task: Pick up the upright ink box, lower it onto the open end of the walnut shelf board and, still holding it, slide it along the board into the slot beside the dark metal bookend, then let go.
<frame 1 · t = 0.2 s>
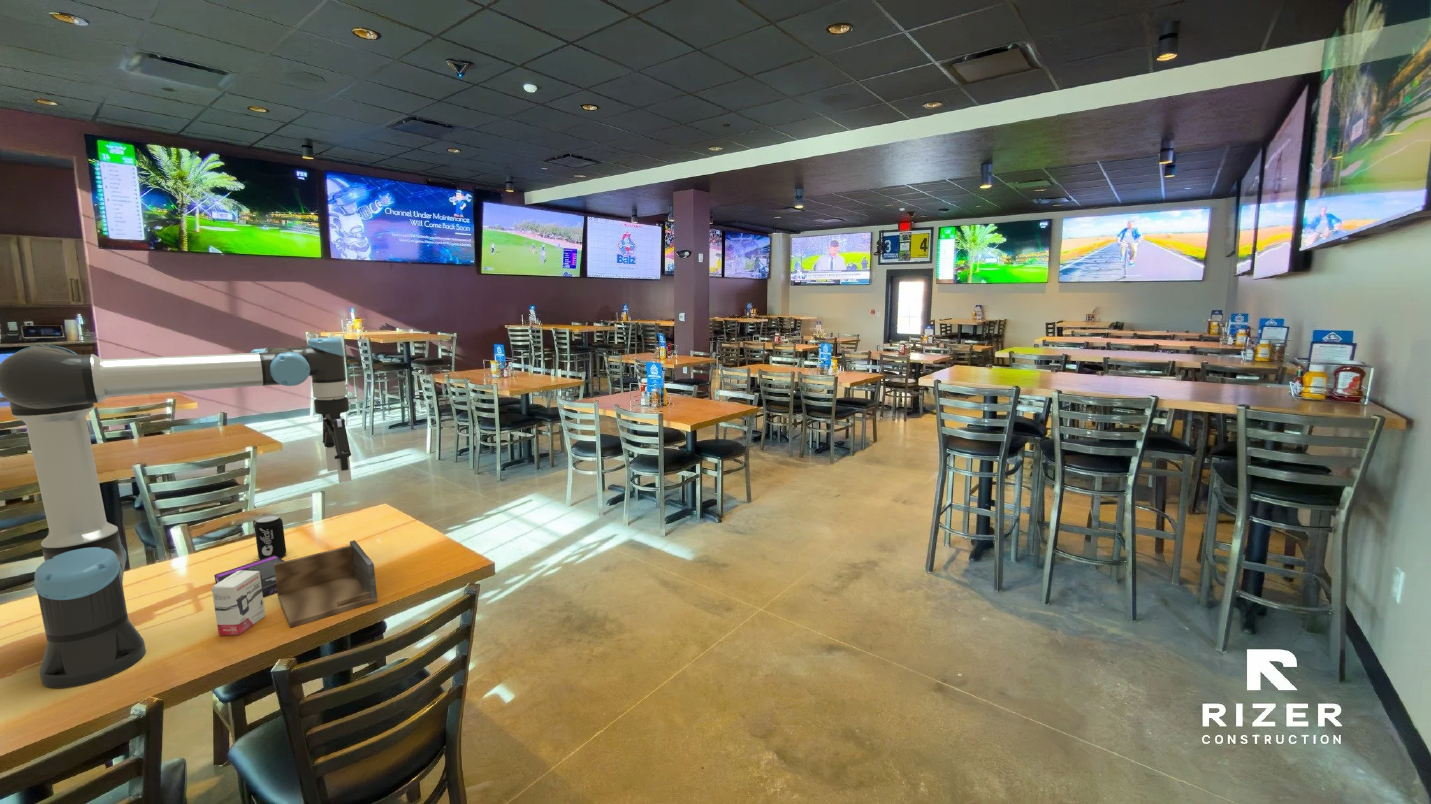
hand: (339, 476, 162), 28 cm above the table, fingers open, 13 cm apart
beverage can: (272, 558, 176), on the table
box: (262, 585, 161), on the table
shelf: (327, 599, 153), on the table
ink box: (242, 626, 141), on the table
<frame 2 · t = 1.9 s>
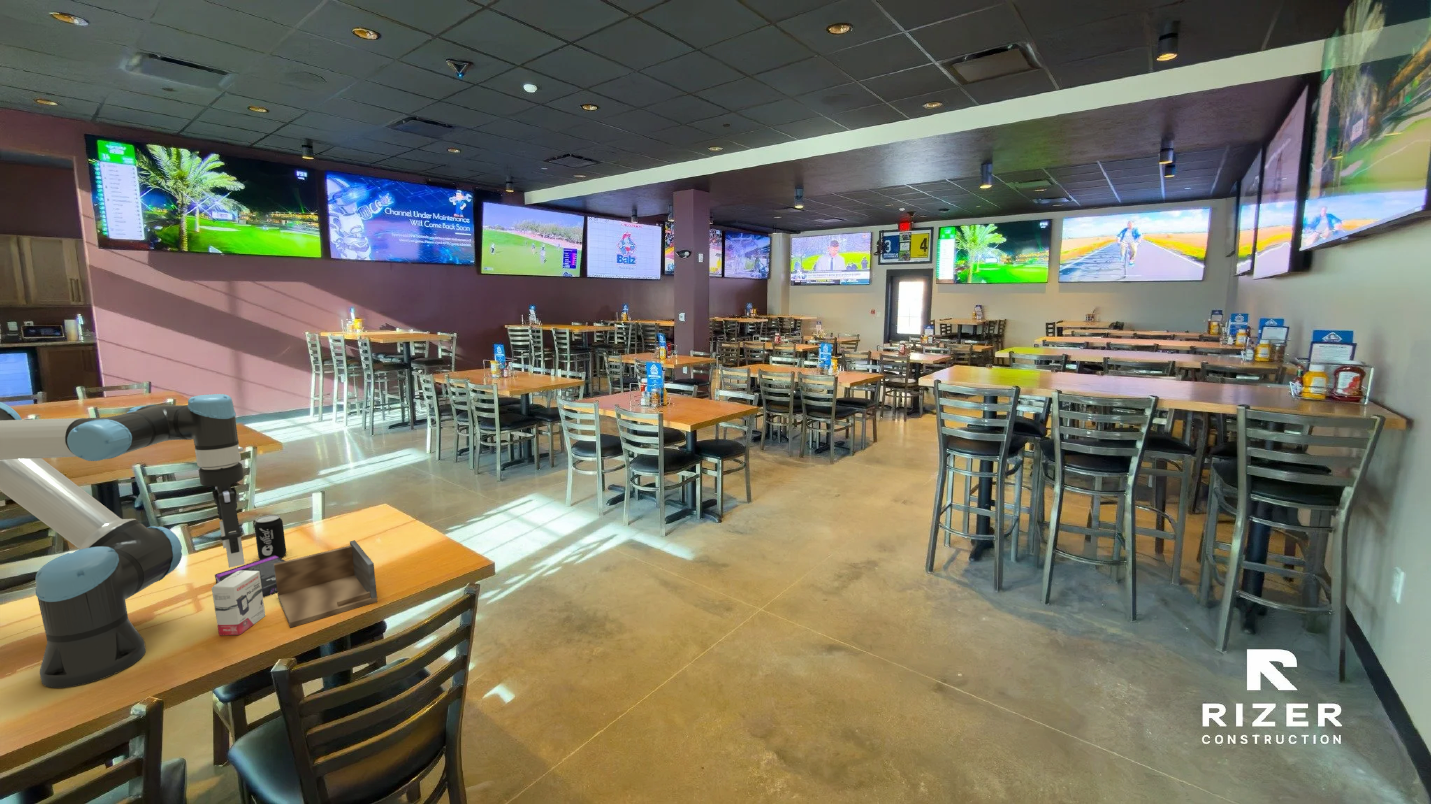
hand: (233, 555, 138), 17 cm above the table, fingers open, 13 cm apart
nothing on the table moved.
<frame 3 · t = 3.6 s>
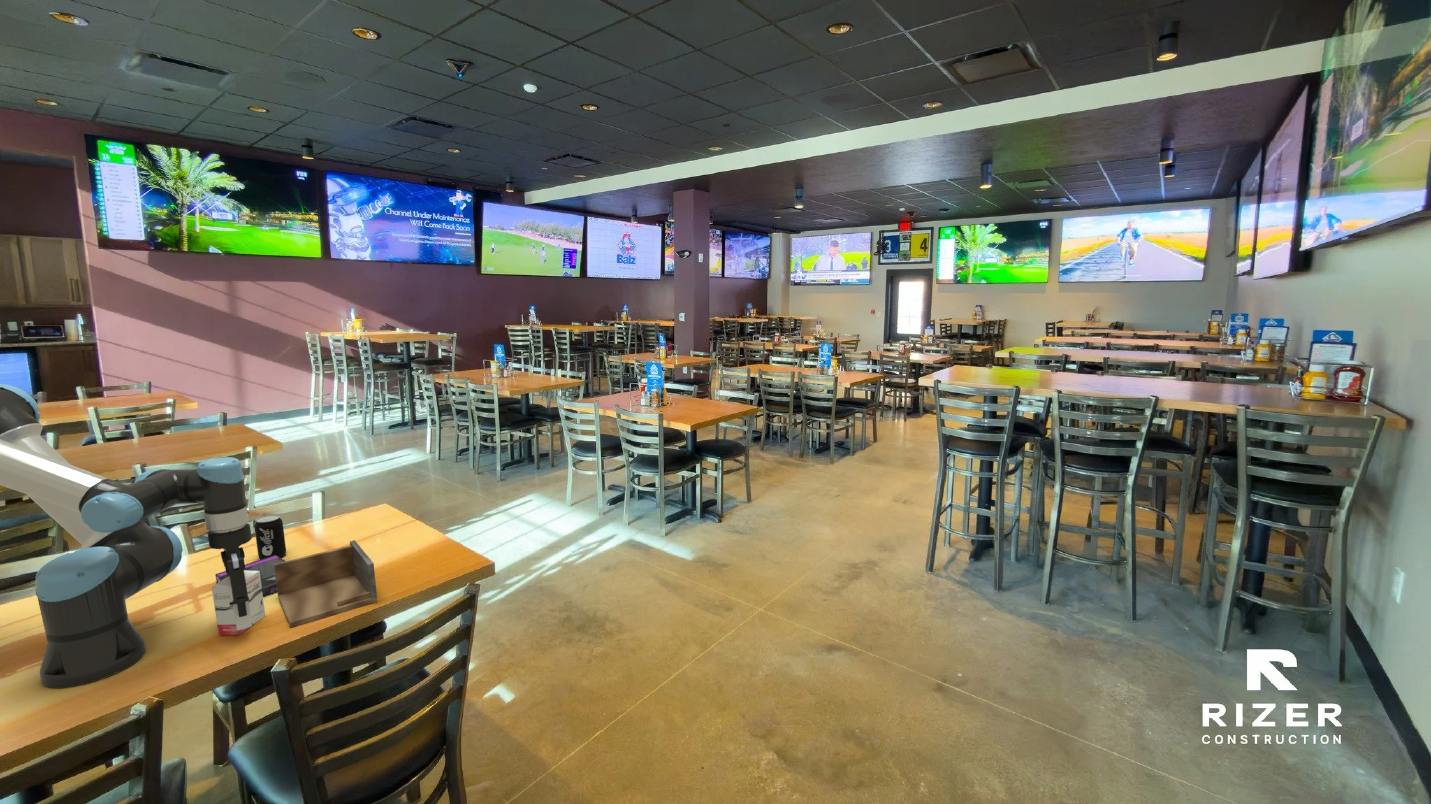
hand: (241, 619, 140), 2 cm above the table, fingers closed on ink box, 9 cm apart
ink box: (242, 626, 141), on the table, touching gripper
everything else where it was.
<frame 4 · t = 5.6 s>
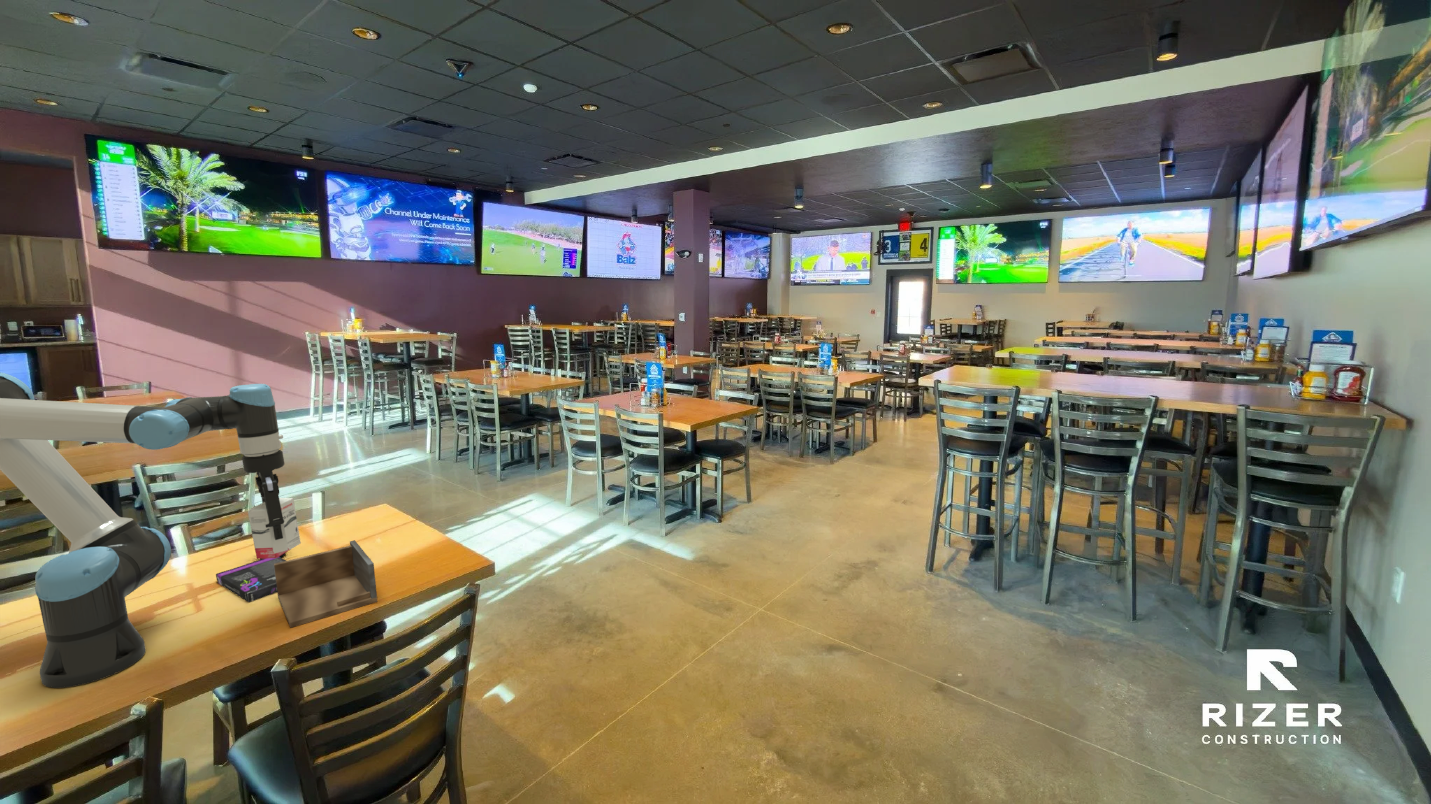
hand: (278, 545, 142), 18 cm above the table, fingers closed on ink box, 9 cm apart
ink box: (279, 551, 143), point 16 cm above the table, touching gripper
everything else where it was.
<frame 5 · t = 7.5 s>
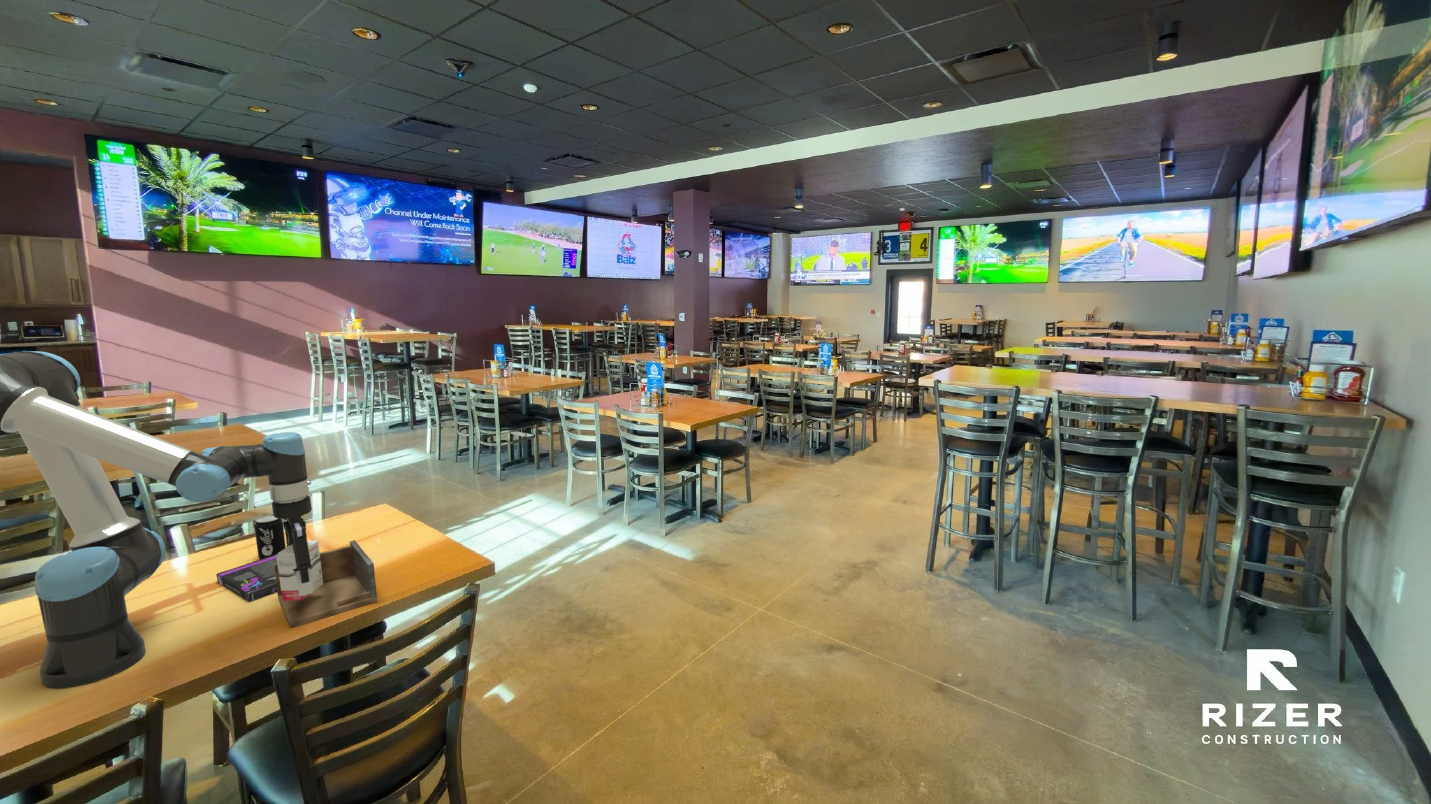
hand: (302, 586, 148), 6 cm above the table, fingers closed on ink box, 9 cm apart
ink box: (303, 593, 148), point 4 cm above the table, touching gripper
everything else where it was.
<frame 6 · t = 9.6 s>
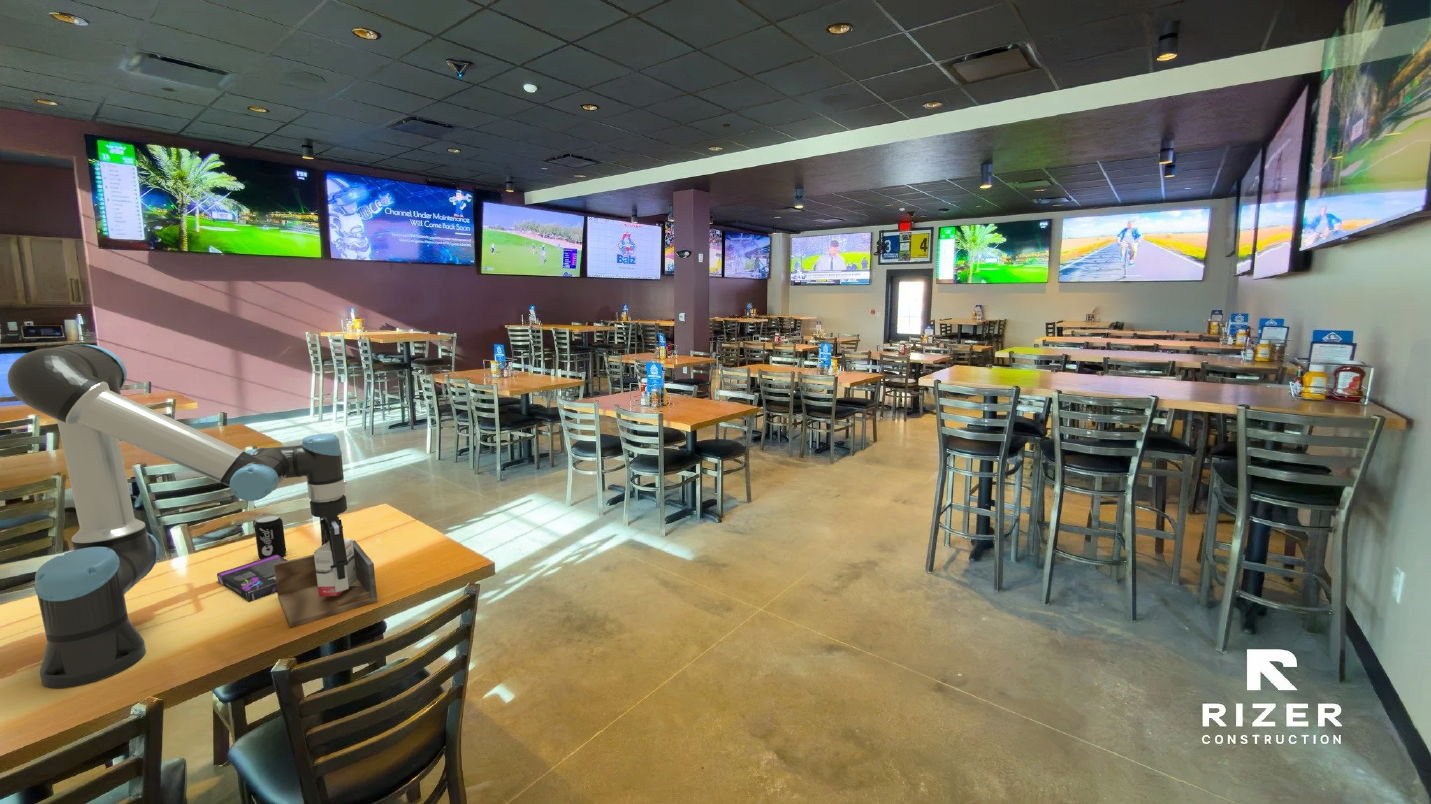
hand: (337, 583, 153), 4 cm above the table, fingers closed on ink box, 9 cm apart
ink box: (338, 589, 153), point 2 cm above the table, touching gripper
everything else where it was.
when the fingers open (3 cm above the table, at t = 11.3 s): ink box stays where it is, resting on shelf.
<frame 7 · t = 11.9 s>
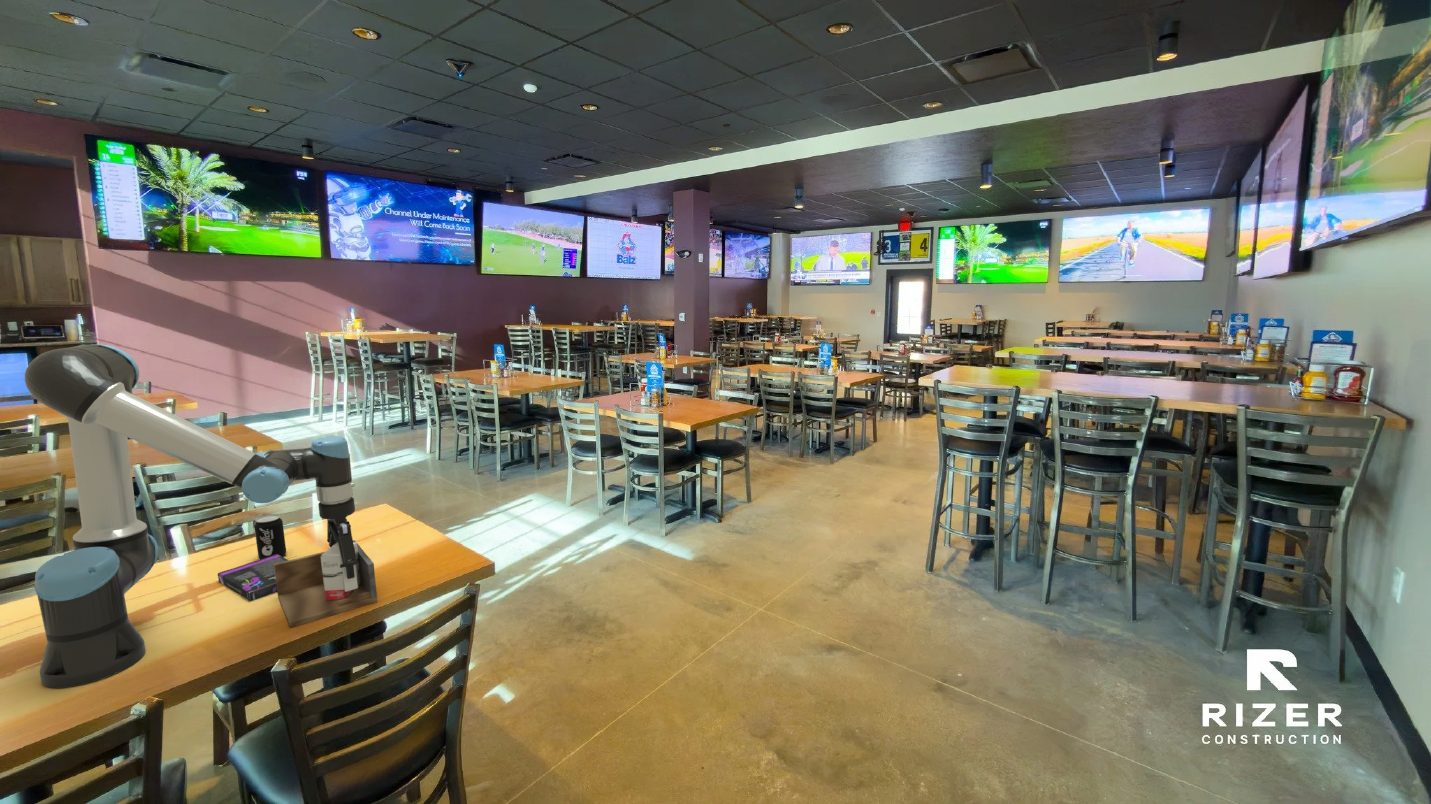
hand: (344, 580, 154), 4 cm above the table, fingers open, 13 cm apart
ink box: (343, 592, 154), point 1 cm above the table, touching shelf
everything else where it was.
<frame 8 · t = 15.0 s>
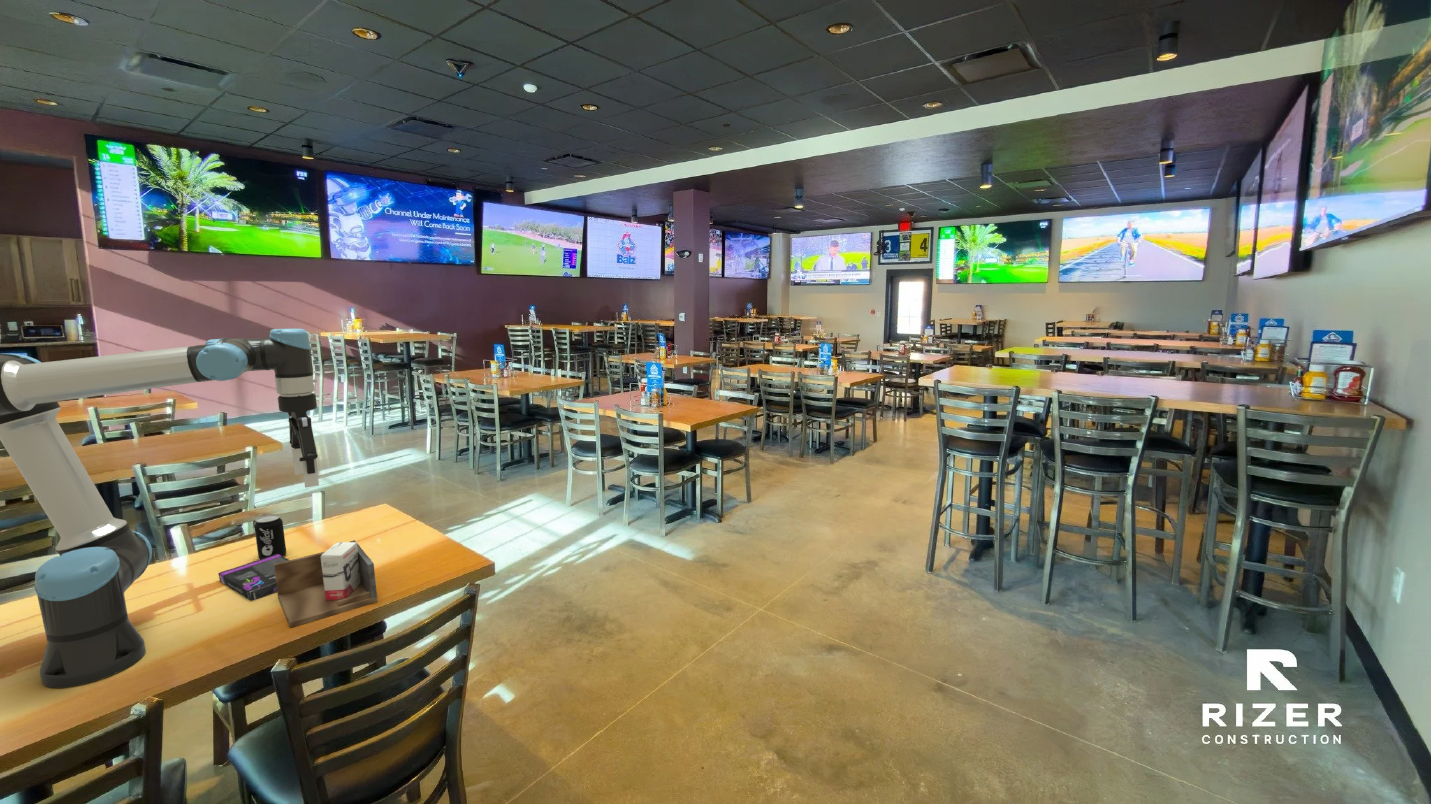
hand: (306, 479, 149), 31 cm above the table, fingers open, 13 cm apart
at the end: ink box 0.7 cm from the target spot, point 1.0 cm above the table; ink box tilted 0°; the gripper is holding nothing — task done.
